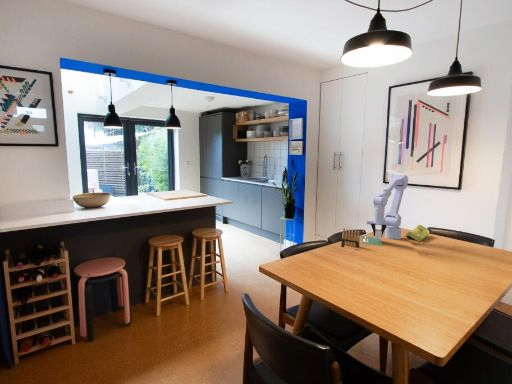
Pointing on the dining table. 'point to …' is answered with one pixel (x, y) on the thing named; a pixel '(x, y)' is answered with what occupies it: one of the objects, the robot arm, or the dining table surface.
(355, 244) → the ammunition clip
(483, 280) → the dining table surface
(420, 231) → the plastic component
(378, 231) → the plug housing
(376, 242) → the header board
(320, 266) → the dining table surface
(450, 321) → the dining table surface
